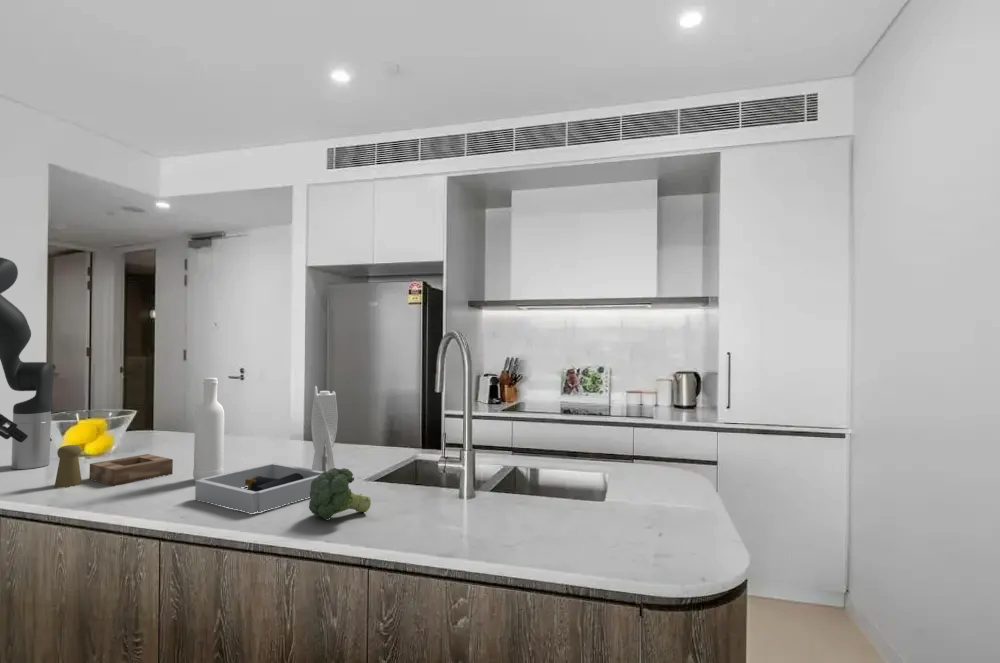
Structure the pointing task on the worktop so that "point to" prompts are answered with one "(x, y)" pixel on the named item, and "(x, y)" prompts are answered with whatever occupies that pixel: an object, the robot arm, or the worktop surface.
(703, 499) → the worktop surface
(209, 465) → the bottle
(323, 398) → the skyscraper
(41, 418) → the robot arm
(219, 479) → the tray rim
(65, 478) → the cork
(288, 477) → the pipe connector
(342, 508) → the vegetable
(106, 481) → the socket block
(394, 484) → the worktop surface
